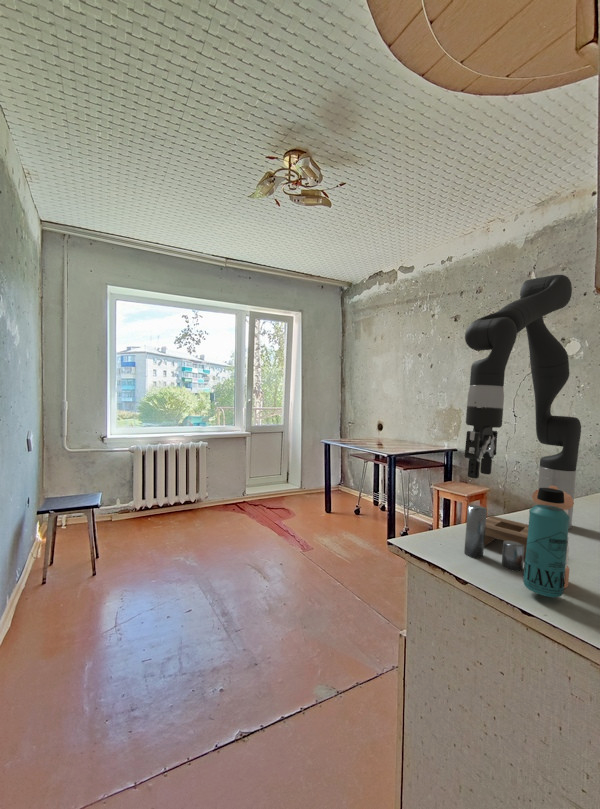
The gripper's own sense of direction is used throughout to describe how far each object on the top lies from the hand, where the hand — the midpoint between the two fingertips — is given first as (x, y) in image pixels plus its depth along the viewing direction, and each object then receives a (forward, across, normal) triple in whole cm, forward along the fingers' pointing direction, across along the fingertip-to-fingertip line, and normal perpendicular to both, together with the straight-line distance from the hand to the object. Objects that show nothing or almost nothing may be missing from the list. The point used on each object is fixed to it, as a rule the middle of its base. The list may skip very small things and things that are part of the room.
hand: (479, 475), depth 87 cm
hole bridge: (+18, -13, +4) cm, 23 cm away
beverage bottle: (+19, +10, +16) cm, 26 cm away
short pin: (+18, 0, +8) cm, 20 cm away
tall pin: (+18, 0, 0) cm, 18 cm away
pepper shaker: (+19, +1, +14) cm, 24 cm away
